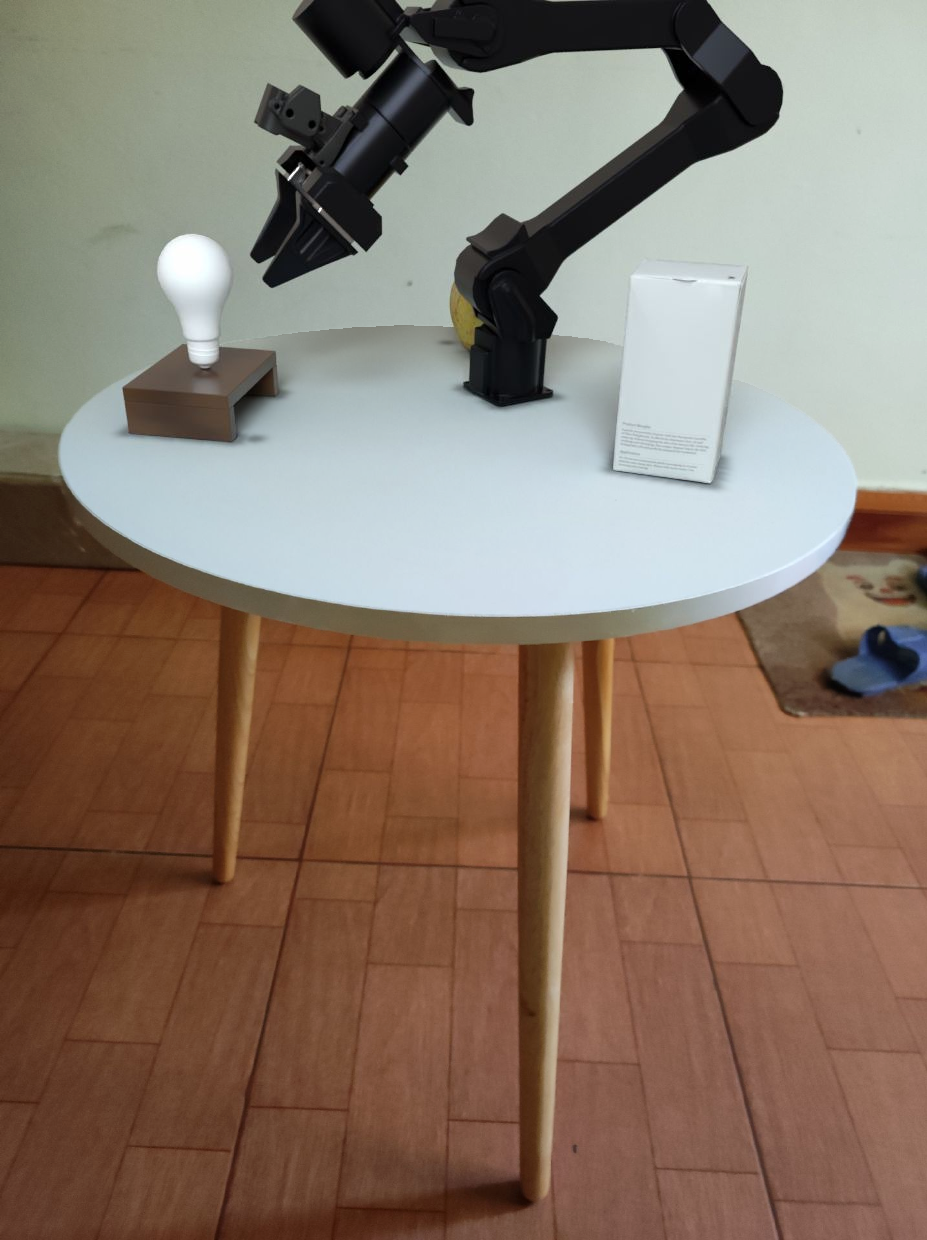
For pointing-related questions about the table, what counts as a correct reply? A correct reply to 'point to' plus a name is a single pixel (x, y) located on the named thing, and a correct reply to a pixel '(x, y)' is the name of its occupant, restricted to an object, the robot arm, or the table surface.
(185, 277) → the lightbulb
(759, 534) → the table surface
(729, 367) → the cosmetic box
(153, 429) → the shelf
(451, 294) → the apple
